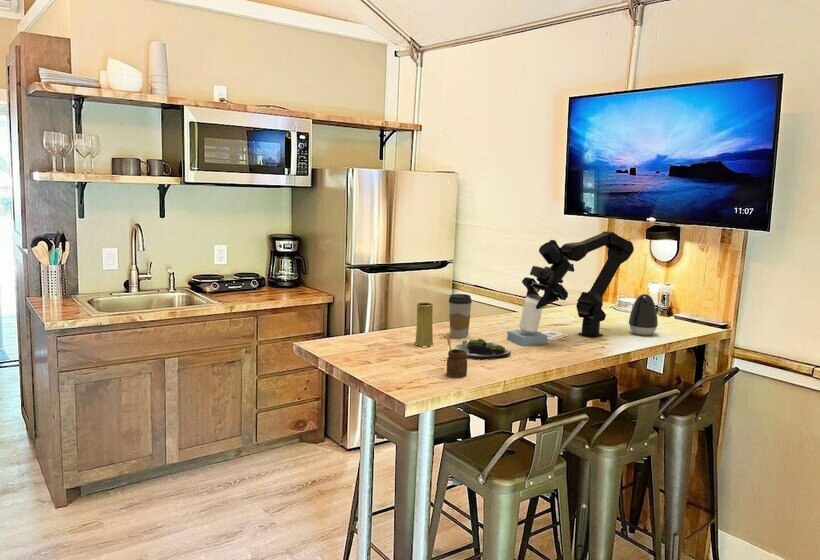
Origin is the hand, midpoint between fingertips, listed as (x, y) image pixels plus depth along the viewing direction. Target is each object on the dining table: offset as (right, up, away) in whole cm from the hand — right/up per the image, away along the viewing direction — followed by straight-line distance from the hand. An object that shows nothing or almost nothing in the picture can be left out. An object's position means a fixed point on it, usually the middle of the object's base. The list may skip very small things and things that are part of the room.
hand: (530, 306), depth 222 cm
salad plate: (-18, -15, -11) cm, 26 cm away
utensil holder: (-28, -18, -35) cm, 48 cm away
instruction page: (+10, -11, +15) cm, 21 cm away
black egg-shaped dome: (+46, -11, +20) cm, 51 cm away
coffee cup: (-24, -11, +11) cm, 29 cm away
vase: (-37, -13, -1) cm, 39 cm away
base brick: (0, -12, +6) cm, 14 cm away
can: (0, -8, +3) cm, 9 cm away
